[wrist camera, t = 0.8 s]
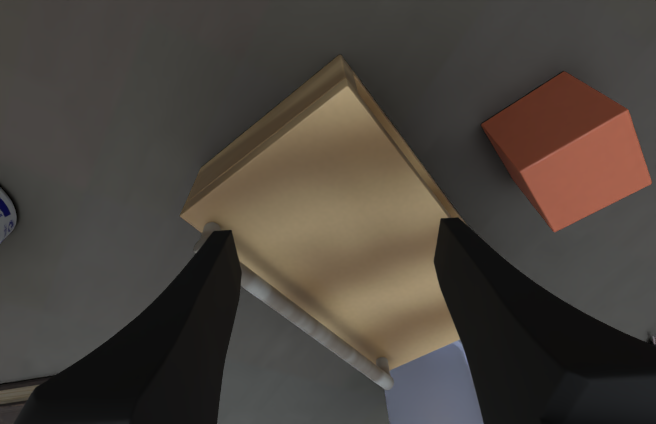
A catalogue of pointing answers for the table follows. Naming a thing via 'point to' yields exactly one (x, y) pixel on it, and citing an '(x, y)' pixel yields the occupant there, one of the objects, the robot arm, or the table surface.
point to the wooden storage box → (333, 224)
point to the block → (569, 150)
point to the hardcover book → (16, 398)
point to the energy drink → (6, 215)
